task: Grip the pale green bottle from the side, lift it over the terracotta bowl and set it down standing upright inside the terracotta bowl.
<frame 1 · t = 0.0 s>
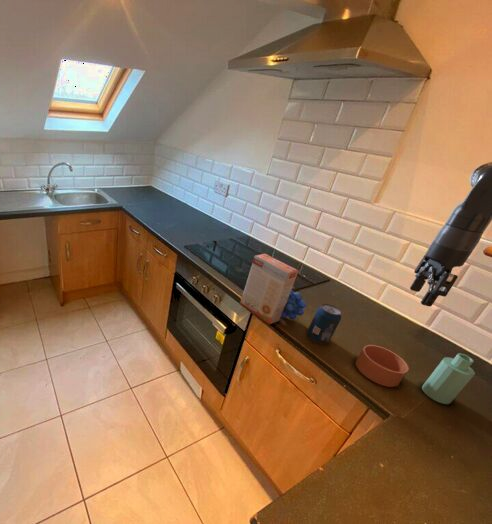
hand: (419, 297, 83), 24 cm above the countertop, tool pointing down, fingers open, 8 cm apart
soda can: (317, 338, 101), on the countertop
grapes: (283, 319, 109), on the countertop, touching cracker box
bottle: (435, 394, 84), on the countertop
terracotta bowl: (376, 371, 89), on the countertop
cracker box: (258, 312, 111), on the countertop, touching grapes
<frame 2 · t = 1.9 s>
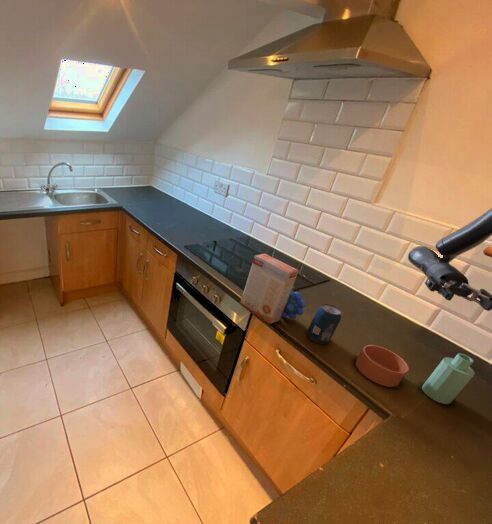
hand: (470, 302, 82), 25 cm above the countertop, tool horizontal, fingers open, 8 cm apart
grapes: (283, 318, 109), on the countertop, touching cracker box
everything else where it was.
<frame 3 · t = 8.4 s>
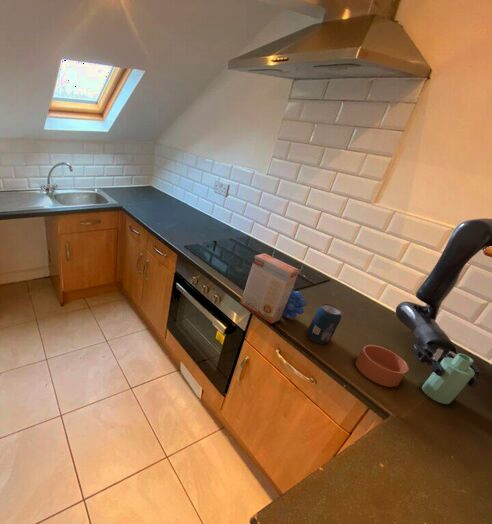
hand: (457, 378, 78), 9 cm above the countertop, tool horizontal, fingers closed on bottle, 6 cm apart
grapes: (283, 318, 110), on the countertop, touching cracker box
bottle: (435, 394, 84), on the countertop, touching gripper
cracker box: (259, 312, 111), on the countertop, touching grapes
everything else where it was.
when the fingers open (9 cm above the countertop, at t = 16.0 s): bottle stays where it is, resting on terracotta bowl.
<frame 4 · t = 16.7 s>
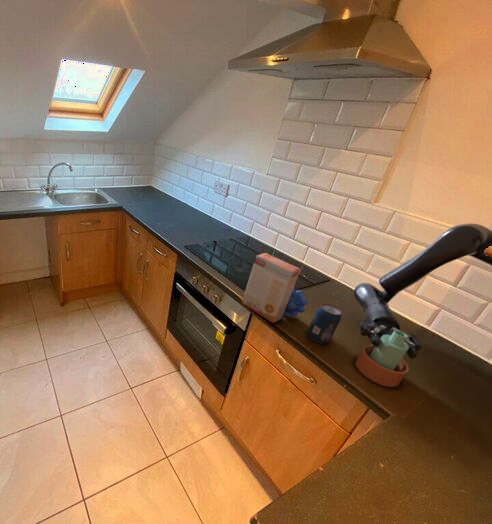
hand: (395, 350, 83), 10 cm above the countertop, tool horizontal, fingers open, 8 cm apart
grapes: (284, 317, 110), on the countertop, touching cracker box
bottle: (377, 370, 89), point 1 cm above the countertop, touching terracotta bowl
cracker box: (260, 311, 112), on the countertop, touching grapes
everything else where it was.
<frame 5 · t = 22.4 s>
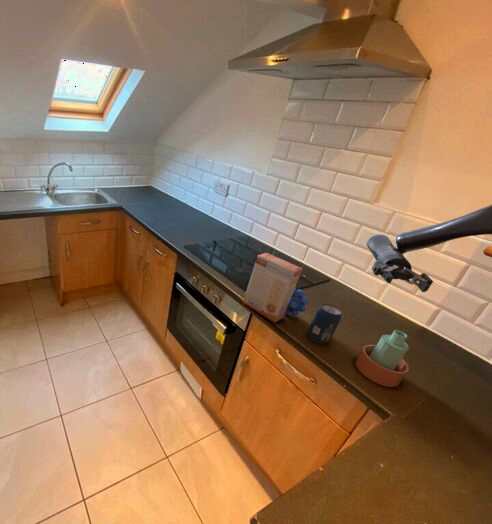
hand: (407, 284, 87), 25 cm above the countertop, tool horizontal, fingers open, 8 cm apart
grapes: (286, 316, 111), on the countertop, touching cracker box
at the end: bottle 0.1 cm off-centre in the terracotta bowl, point 0.6 cm above the terracotta bowl's base; bottle tilted 0°; the gripper is holding nothing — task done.
